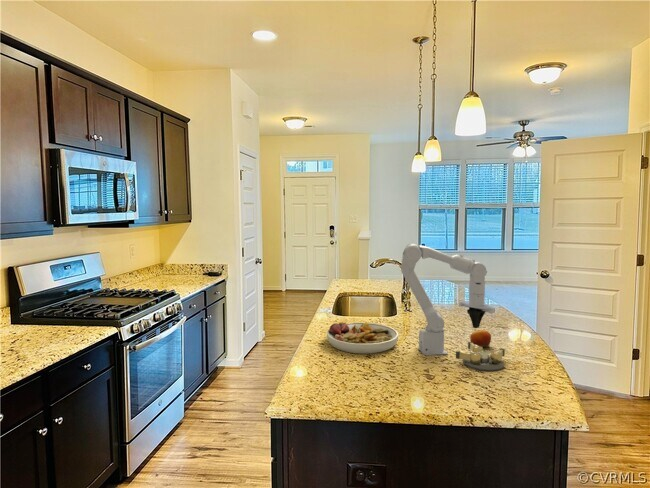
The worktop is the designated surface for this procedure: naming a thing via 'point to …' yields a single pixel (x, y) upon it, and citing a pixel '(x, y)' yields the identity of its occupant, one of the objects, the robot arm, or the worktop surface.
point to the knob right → (497, 356)
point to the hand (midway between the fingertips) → (476, 327)
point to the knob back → (474, 347)
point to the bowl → (362, 337)
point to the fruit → (481, 338)
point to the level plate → (484, 363)
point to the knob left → (469, 356)
